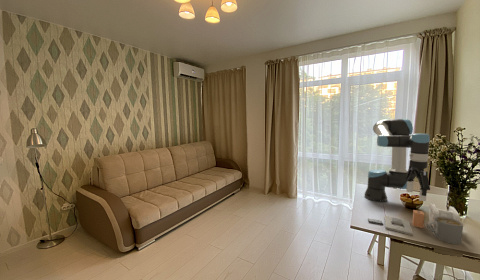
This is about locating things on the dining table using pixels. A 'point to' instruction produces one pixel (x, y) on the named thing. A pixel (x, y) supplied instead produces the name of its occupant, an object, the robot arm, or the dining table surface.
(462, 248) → the dining table surface
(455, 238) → the coffee mug
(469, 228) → the dining table surface
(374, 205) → the dining table surface
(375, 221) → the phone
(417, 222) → the block
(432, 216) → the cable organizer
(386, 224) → the outlet plate
